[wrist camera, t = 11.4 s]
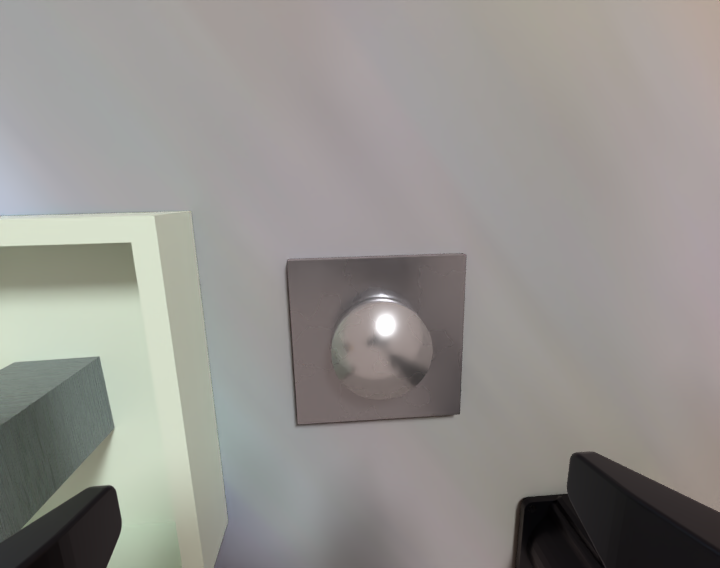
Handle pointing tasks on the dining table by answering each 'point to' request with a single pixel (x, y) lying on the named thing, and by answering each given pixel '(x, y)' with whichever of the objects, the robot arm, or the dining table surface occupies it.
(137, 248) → the bin
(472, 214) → the dining table surface
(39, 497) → the strut
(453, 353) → the stud
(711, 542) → the robot arm
